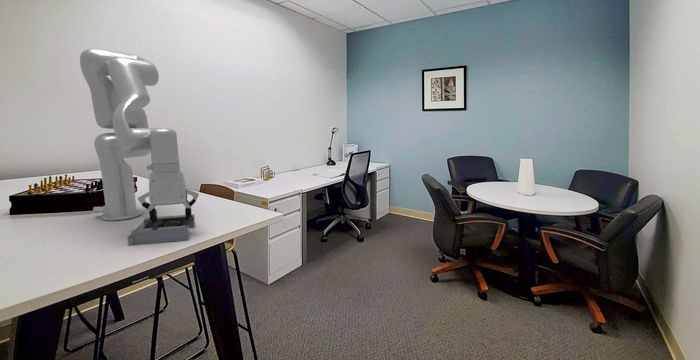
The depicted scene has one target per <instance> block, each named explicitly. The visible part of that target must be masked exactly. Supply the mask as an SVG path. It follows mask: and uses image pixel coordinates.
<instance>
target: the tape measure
mask: <svg viewBox="0 0 700 360" xmlns="http://www.w3.org/2000/svg"><path fill="white" fill-rule="evenodd" d="M173 226H182V224H181V222H179V221H168V222H165V223H162V224H159V225H158V228H159V227H173Z"/></svg>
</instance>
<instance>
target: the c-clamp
mask: <svg viewBox="0 0 700 360" xmlns="http://www.w3.org/2000/svg"><path fill="white" fill-rule="evenodd" d="M191 214H192V213H191ZM168 221H179V222H181V224H182V226H173V227H159V228H158V225H159V224H162V223H165V222H168ZM195 226H196V218H195V214H192V216H191V217H190V219H189V220H186V215H185V214H181V215H179V214H178V215H177V214H176V215H164V216H157V221H156V222H155V223H152V220H150V216H148V217H147V216H146V217H145V218H144V219H143V221H142V222H141V224H139V225H138V226H137V227H136V228H135V229H132V230H131V232H130V234H129V235H128V237H127V244H128V246H133V245H134V246H135V245H148V244H158V243H159V244H160V243H170V242H172V243H173V242H182V241H189V239H190V229H191V228H192V229H193V228H195Z"/></svg>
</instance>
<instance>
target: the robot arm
mask: <svg viewBox="0 0 700 360" xmlns="http://www.w3.org/2000/svg"><path fill="white" fill-rule="evenodd" d="M79 64H80V65H79V67H80V70H81V72H82V75H83V77H84V79H85V81H86V83H87V86H88V89H89V91H90V95H91V96H90V97H91V103H92V108H93V113H94V119H95V122H96V124H97V125H98V126H99V127H100V129H101V128H102V129H106V130H113V132H104V133H102V134H98V135H97V136H96V137H95V138H94V141H93V142H94V143H93V144H94V149H95V152H96V155H97V158H98V162H99V167H100V172H101V173H100V174H101V181H102V188H103V196H104V203H105V205H103V206H93V208H92V211H93V213H94V214H99V213H102V214H101V220H104V221H108V222H109V221H114V222H115V221H123V220H124V221H125V220H129V219H133V218H137V217H139V216H141V215H142V214H143V211H142V210H141V209H139V208H137V200H138V202H139V204H141V206H142V207H143V208H145V210H147V211H148V212H149V217H150V220H152V223H155V222H156V221H157V217H158V215H157V209H156V208H155V207H156V206H170V205H181V204H182V205H183V206H184V207H185V209H184V215H186V220H189V219H190V217H191V216H192V206H193V205H195V203H196V202H197V201H198V200H197V199H198V198H199V195H200V194H199V192H196V191H193V190H191V189H188V188H187V184H186V179H185V177H184V173H183V171H181V167H180V156H179V148H178V147H179V145H178V136H177V132H176V130H175V129H172V128H161V127H160V128H159V127H149V124H148V123H149V122H148V117H147V114H146V111H145V110H144V108H146V106H148V105H149V104H150V103H151V102H150V101H151V97H150V94H149V93H148V90H147V88H146V87H153V86H156V85H157V84H158V81H159V79H160V78H159V71H158V68H157V67H156V66H155V64H154V63H153V62H151V61H150V60H148V59H145V58H144V57H141V56H139V55H135V54H132V53H127V52H126V53H125V52H119V51H115V50H110V49H109V50H107V49H102V48H87V49H86V48H85V49H84V50H83V51H82V52H80V56H79ZM108 76H109V77H110V78H109V77H108ZM148 155H150V160H151V163H150V164H149V165H146V170H147V171H149V170H150V171H151V173H149V177H148V192H146V193H144V194H142V195H141V196H139V197H138V198H137V200H136V190H135V181H134V173H133V172H134V171H133V169H132V166H131V165H130V164H129V163H127V162H126V160H125V159H129V158H140V157H146V156H148ZM188 195H190V196H191V197H192V199H191V200H190V201H189V200H188ZM147 198H149V202H147V201H146V199H147Z"/></svg>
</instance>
